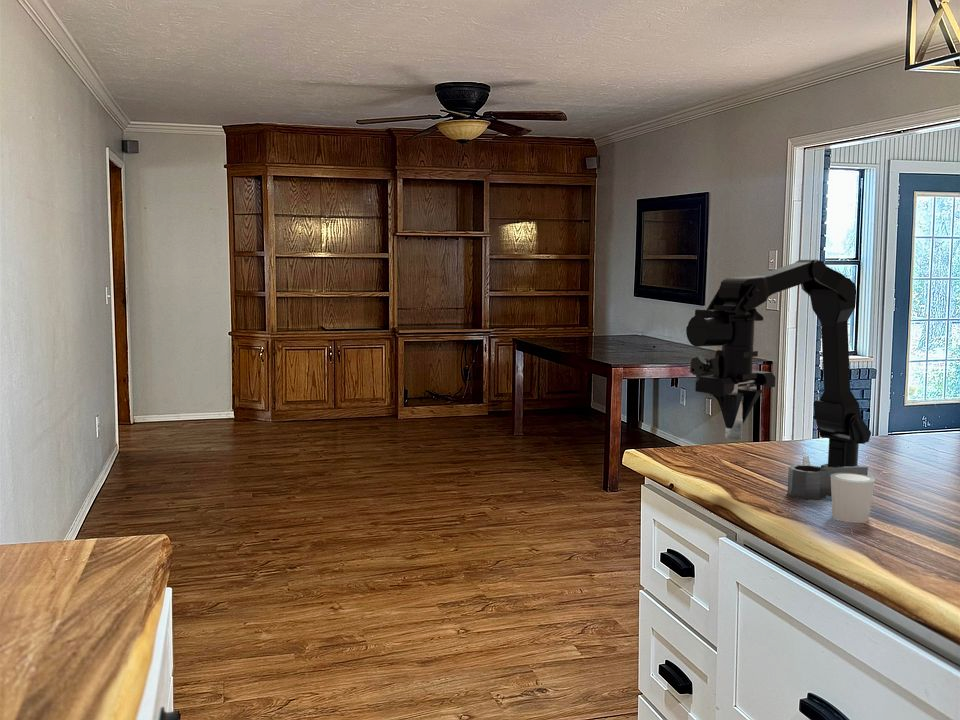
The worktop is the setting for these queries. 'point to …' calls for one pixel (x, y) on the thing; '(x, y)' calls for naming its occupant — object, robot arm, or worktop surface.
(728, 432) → the hinge pin
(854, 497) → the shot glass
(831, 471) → the grey ring with handle
